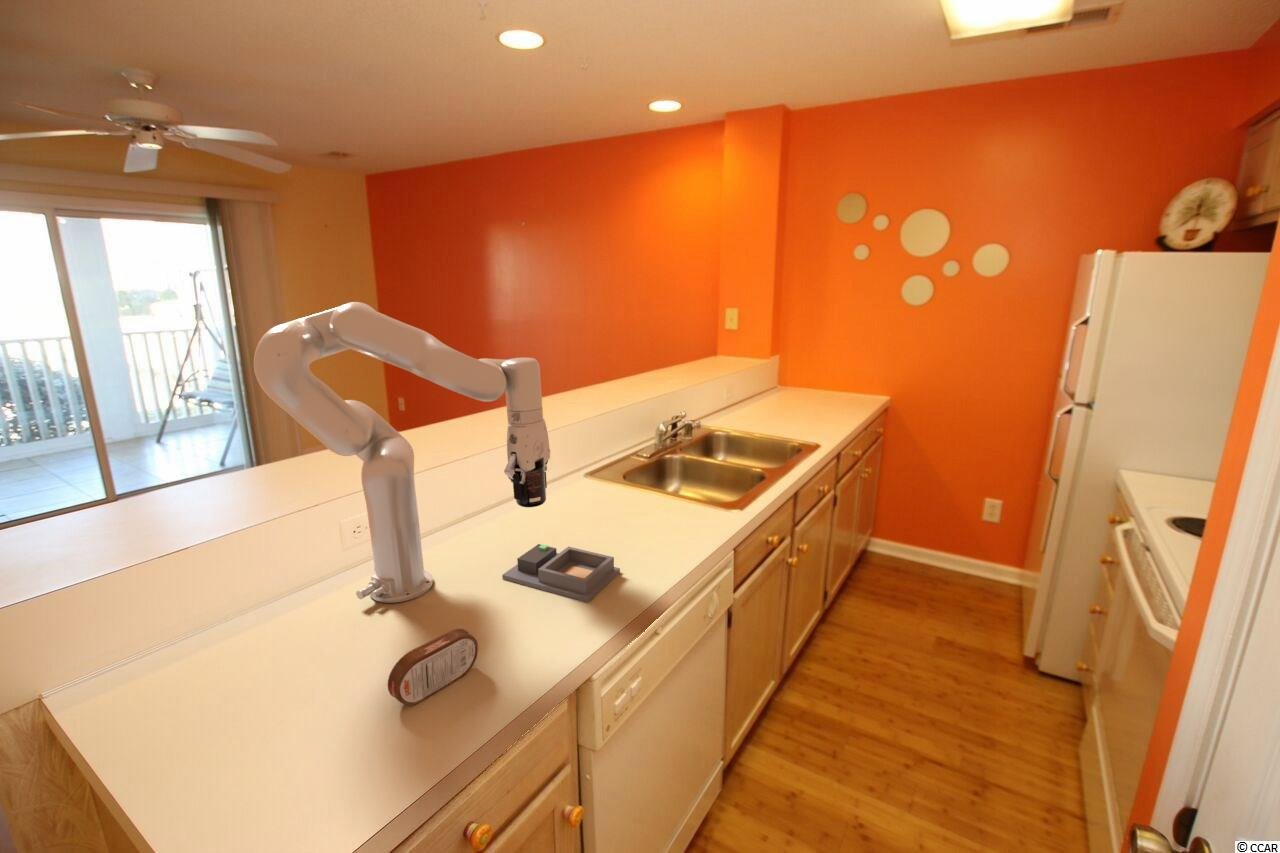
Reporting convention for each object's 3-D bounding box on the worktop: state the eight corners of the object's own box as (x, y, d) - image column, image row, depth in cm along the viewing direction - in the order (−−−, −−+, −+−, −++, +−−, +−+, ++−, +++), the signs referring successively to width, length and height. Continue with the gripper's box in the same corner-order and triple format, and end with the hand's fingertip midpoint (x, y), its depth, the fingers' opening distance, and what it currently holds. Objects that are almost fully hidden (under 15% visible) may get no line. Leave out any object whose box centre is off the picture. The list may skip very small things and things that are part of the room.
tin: (471, 660, 101) (468, 618, 99) (482, 668, 100) (479, 625, 97) (389, 709, 90) (383, 662, 88) (399, 718, 88) (394, 670, 86)
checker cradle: (588, 602, 119) (587, 582, 118) (502, 578, 129) (501, 560, 127) (620, 572, 132) (619, 553, 130) (539, 552, 141) (538, 535, 140)
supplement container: (539, 494, 135) (536, 451, 132) (551, 503, 129) (548, 459, 126) (511, 501, 131) (507, 457, 128) (523, 510, 126) (519, 465, 123)
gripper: (515, 427, 116) (522, 510, 120) (561, 408, 131) (565, 482, 136) (485, 424, 119) (492, 505, 123) (533, 405, 134) (538, 478, 139)
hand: (530, 492), depth 129 cm, fingers closed on supplement container, 6 cm apart
